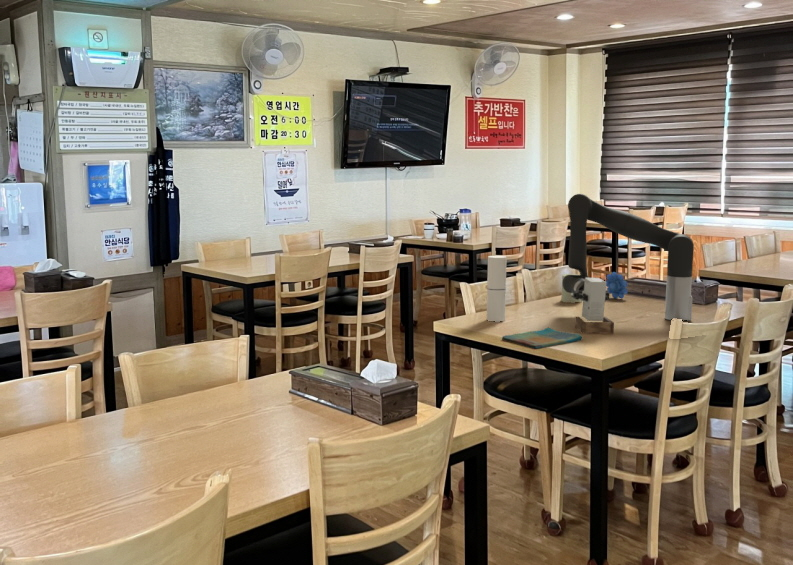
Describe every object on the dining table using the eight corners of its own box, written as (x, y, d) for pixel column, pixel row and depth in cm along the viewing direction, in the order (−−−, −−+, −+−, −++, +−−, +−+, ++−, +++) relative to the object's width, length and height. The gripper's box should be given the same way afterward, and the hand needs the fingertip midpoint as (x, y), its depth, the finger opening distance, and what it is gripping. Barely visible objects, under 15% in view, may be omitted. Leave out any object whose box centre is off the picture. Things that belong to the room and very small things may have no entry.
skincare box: (581, 316, 296) (583, 277, 294) (597, 316, 297) (599, 277, 294) (588, 321, 288) (590, 281, 286) (604, 321, 289) (607, 281, 286)
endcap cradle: (605, 327, 298) (606, 316, 297) (613, 333, 287) (614, 322, 286) (575, 327, 298) (575, 316, 297) (581, 333, 287) (582, 322, 286)
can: (557, 299, 356) (558, 273, 354) (575, 298, 359) (576, 272, 357) (567, 303, 348) (568, 276, 346) (586, 302, 350) (587, 275, 348)
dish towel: (584, 341, 276) (584, 334, 276) (536, 351, 263) (536, 343, 262) (547, 333, 290) (547, 326, 290) (500, 341, 276) (500, 334, 276)
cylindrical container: (490, 322, 306) (492, 258, 302) (483, 319, 312) (485, 255, 309) (507, 321, 307) (509, 257, 304) (500, 318, 314) (502, 255, 310)
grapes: (599, 297, 362) (600, 271, 360) (607, 296, 367) (608, 270, 365) (621, 301, 354) (623, 274, 352) (629, 299, 358) (631, 273, 356)
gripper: (567, 280, 305) (576, 288, 288) (604, 281, 305) (616, 288, 288) (566, 299, 306) (575, 308, 289) (603, 300, 306) (615, 309, 289)
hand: (595, 298), depth 289 cm, fingers closed on skincare box, 6 cm apart
